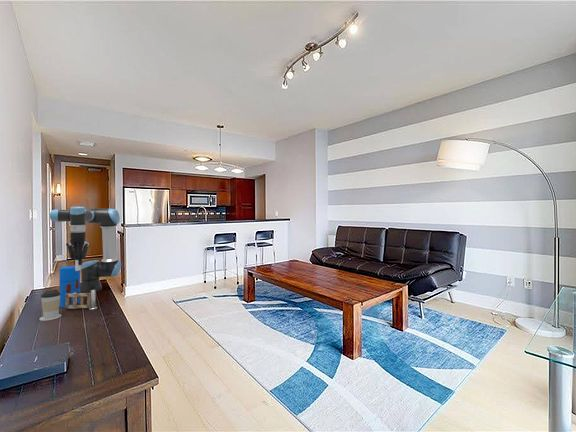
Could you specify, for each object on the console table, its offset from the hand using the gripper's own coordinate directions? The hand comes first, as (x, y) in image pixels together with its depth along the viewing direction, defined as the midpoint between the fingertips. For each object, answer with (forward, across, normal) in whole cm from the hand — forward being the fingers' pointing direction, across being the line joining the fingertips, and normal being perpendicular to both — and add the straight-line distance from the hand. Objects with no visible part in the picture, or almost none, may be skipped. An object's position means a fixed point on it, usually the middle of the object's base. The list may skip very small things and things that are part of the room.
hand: (78, 270), depth 175 cm
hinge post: (+26, +4, +8) cm, 28 cm away
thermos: (+27, -16, +16) cm, 35 cm away
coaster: (+26, -11, -7) cm, 29 cm away
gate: (+25, -5, +7) cm, 27 cm away
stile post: (+26, -8, +9) cm, 29 cm away
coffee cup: (+26, -11, -7) cm, 29 cm away
